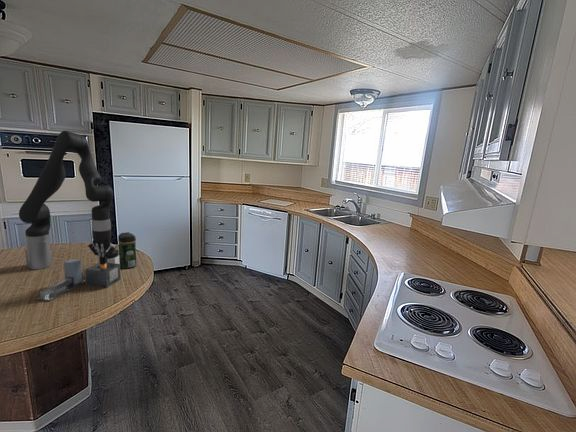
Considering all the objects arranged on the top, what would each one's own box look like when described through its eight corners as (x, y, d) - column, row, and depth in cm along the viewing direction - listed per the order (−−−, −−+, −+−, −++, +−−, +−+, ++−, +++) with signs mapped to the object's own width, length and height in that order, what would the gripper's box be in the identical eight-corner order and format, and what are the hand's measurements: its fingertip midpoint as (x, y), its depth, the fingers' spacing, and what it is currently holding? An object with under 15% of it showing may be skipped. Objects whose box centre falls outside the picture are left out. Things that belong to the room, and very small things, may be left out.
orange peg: (99, 280, 141) (98, 264, 140) (103, 278, 144) (102, 262, 142) (104, 281, 141) (103, 265, 140) (108, 278, 144) (107, 263, 142)
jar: (99, 278, 147) (98, 254, 145) (99, 272, 154) (98, 250, 151) (120, 275, 152) (119, 252, 150) (119, 269, 159) (118, 248, 156)
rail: (36, 299, 123) (35, 290, 122) (75, 279, 143) (75, 271, 142) (49, 301, 122) (48, 292, 121) (87, 281, 143) (86, 273, 142)
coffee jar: (117, 264, 165) (116, 232, 162) (133, 262, 171) (132, 230, 167) (122, 270, 158) (121, 236, 155) (138, 267, 164) (137, 234, 160)
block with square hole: (86, 285, 138) (85, 269, 137) (101, 277, 148) (100, 262, 146) (107, 287, 138) (106, 271, 136) (120, 279, 147) (120, 264, 146)
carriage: (65, 283, 137) (63, 262, 135) (72, 280, 141) (70, 259, 139) (75, 284, 136) (74, 263, 134) (82, 281, 140) (81, 260, 138)
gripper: (120, 228, 141) (121, 262, 144) (93, 225, 142) (95, 260, 145) (109, 231, 134) (111, 268, 137) (81, 229, 135) (84, 265, 138)
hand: (103, 263), depth 141 cm, fingers closed
